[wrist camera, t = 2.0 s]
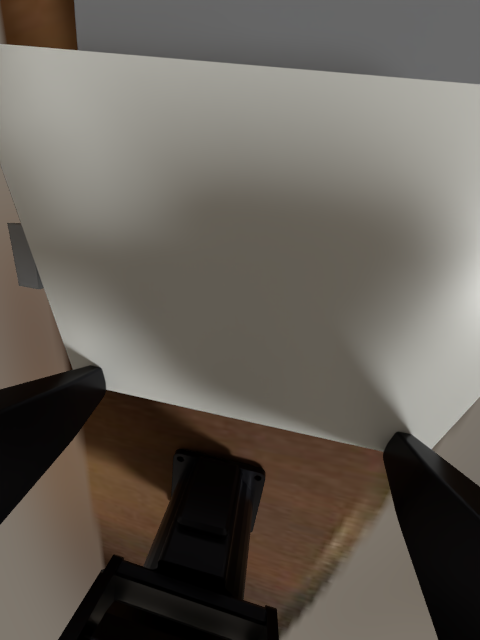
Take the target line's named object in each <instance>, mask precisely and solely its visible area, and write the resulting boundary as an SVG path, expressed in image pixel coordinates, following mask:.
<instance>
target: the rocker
mask: <svg viewBox="0 0 480 640" xmlns="http://www.w3.org/2000/svg"><path fill="white" fill-rule="evenodd" d="M0 165H1V168H2V171H3V174H4V176H5V179H6V182H7V185H8V188H9V191H10V193H11V196H12V199H13V202H14V205H15V208H16V210H17V213H18V216H19V219H20V222H21V225H22V227H23V230H24V233H25V236H26V239H27V242H28V244H29V247H30V250H31V253H32V256H33V258H34V261H35V264H36V267H37V270H38V273H39V275H40V278H41V281H42V284H43V287H44V290H45V292H46V295H47V298H48V301H49V304H50V306H51V309H52V312H53V315H54V318H55V321H56V323H57V326H58V329H59V332H60V335H61V338H62V340H63V343H64V346H65V349H66V352H67V354H68V357H69V360H70V363H71V366H72V369H73V370H74V369H78V368H82V367H85V366H89V365H92V366H97V367H100V368H102V370H103V374H104V378H105V382H106V390H110V391H115V392H119V393H124V394H128V395H133V396H137V397H141V398H146V399H150V400H155V401H159V402H164V403H168V404H173V405H177V406H182V407H186V408H191V409H195V410H200V411H204V412H209V413H213V414H218V415H222V416H226V417H231V418H235V419H240V420H244V421H249V422H253V423H258V424H262V425H267V426H271V427H276V428H280V429H285V430H289V431H294V432H298V433H303V434H307V435H311V436H316V437H320V438H325V439H329V440H334V441H338V442H343V443H347V444H352V445H356V446H361V447H365V448H370V449H374V450H379V451H383V452H384V449H385V447H386V445H387V443H388V442H389V441H390V439H391V438H392V437H393V435H394V434H395V433H396V432H398V431H399V432H404V433H409V434H412V435H413V436H414V437H416V438H417V439H418V440H420V441H421V442H422V443H424V444H425V445H426V446H427V447H429V448H430V449H432V448H433V447H434V446H435V445H436V444H437V443H438V441H439V440H440V439H441V438H442V437H443V436H444V435H445V434H446V433H447V432H448V431H449V429H450V428H451V427H452V426H453V425H454V424H455V423H456V422H457V421H458V420H459V419H460V418H461V416H462V415H463V414H464V413H465V412H466V411H467V410H468V409H469V408H470V407H471V406H472V405H473V403H474V402H475V401H476V400H477V399H478V398H479V397H480V84H469V83H457V82H445V81H433V80H421V79H410V78H398V77H386V76H374V75H362V74H351V73H339V72H327V71H315V70H303V69H291V68H280V67H268V66H256V65H244V64H232V63H221V62H209V61H197V60H185V59H173V58H161V57H150V56H138V55H126V54H114V53H102V52H91V51H79V50H67V49H55V48H43V47H31V46H20V45H8V44H0Z"/></svg>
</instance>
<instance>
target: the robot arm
mask: <svg viewBox="0 0 480 640" xmlns="http://www.w3.org/2000/svg"><path fill="white" fill-rule="evenodd" d="M105 392H106V382H105V378H104V374H103V370H102V368H100V367H97V366H92V365H89V366H85V367H82V368H78V369H74V370H70V371H67V372H63V373H59V374H56V375H52V376H49V377H45V378H41V379H38V380H34V381H30V382H26V383H23V384H19V385H15V386H12V387H8V388H4V389H1V390H0V524H1V523H2V522H3V521H4V520H5V518H6V517H7V516H8V515H9V514H10V513H11V511H12V510H13V509H14V508H15V507H16V505H17V504H18V503H19V502H20V501H21V500H22V499H23V497H24V496H25V495H26V494H27V493H28V491H29V490H30V489H31V488H32V487H33V486H34V485H35V483H36V482H37V481H38V480H39V479H40V478H41V476H42V475H43V474H44V473H45V471H47V469H48V468H49V467H50V466H51V465H52V463H53V462H54V461H55V460H56V459H57V458H58V456H59V455H60V454H61V453H62V451H64V449H65V448H66V447H67V446H68V445H69V443H70V442H71V441H72V440H73V439H74V437H75V436H76V435H77V433H78V432H79V431H80V429H81V428H82V426H83V425H84V424H85V422H86V421H87V419H88V418H89V417H90V415H91V414H92V412H93V411H94V409H95V408H96V407H97V405H98V404H99V402H100V401H101V400H102V398H103V397H104V395H105ZM383 460H384V465H385V469H386V473H387V477H388V481H389V486H390V490H391V494H392V498H393V502H394V507H395V511H396V514H397V518H398V521H399V524H400V527H401V531H402V533H403V537H404V539H405V542H406V545H407V548H408V551H409V554H410V557H411V560H412V563H413V566H414V569H415V572H416V575H417V578H418V581H419V584H420V587H421V590H422V593H423V595H424V598H425V601H426V605H427V607H428V610H429V613H430V616H431V619H432V622H433V625H434V628H435V631H436V634H437V637H438V640H480V487H479V486H478V485H477V484H475V483H474V482H473V481H472V480H470V479H469V478H468V477H466V476H465V475H464V474H463V473H461V472H460V471H458V470H457V469H456V468H455V467H453V466H452V465H451V464H450V463H448V462H447V461H446V460H444V459H443V458H442V457H440V456H439V455H438V454H437V453H435V452H434V451H433V450H431V449H430V448H429V447H427V446H426V445H425V444H424V443H422V442H421V441H420V440H418V439H417V438H416V437H414V436H413V435H412V434H409V433H404V432H399V431H398V432H396V433H395V434H394V435H393V437H392V438H391V439H390V441H389V442H388V443H387V445H386V447H385V449H384V453H383ZM264 482H265V471H264V470H263V469H262V468H259V467H255V466H251V465H246V464H242V463H238V462H234V461H230V460H226V459H221V458H217V457H213V456H209V455H205V454H201V453H197V452H192V451H188V450H184V449H178V450H177V451H176V453H175V455H174V458H173V476H172V495H171V500H170V502H169V505H168V507H167V510H166V512H165V514H164V517H163V519H162V522H161V524H160V527H159V529H158V532H157V534H156V537H155V539H154V541H153V544H152V546H151V549H150V551H149V554H148V556H147V559H146V561H145V563H144V566H140V565H137V564H134V563H131V562H128V561H125V560H124V557H121V556H118V555H115V554H114V555H113V556H112V558H111V560H110V561H109V563H108V564H107V566H106V568H105V569H103V570H101V572H100V573H99V575H98V576H97V578H96V580H95V582H94V583H93V585H92V586H91V588H90V589H89V591H88V593H87V594H86V596H85V598H84V599H83V601H82V602H81V604H80V605H79V607H78V609H77V610H76V612H75V613H74V615H73V617H72V619H71V620H70V621H69V623H68V625H67V627H66V628H65V630H64V631H63V633H62V635H61V636H60V638H59V639H58V640H279V635H278V619H277V609H276V608H273V607H270V606H267V605H265V607H262V606H259V605H256V604H253V603H250V602H247V601H244V600H243V599H244V589H245V579H246V569H247V559H248V550H249V540H250V533H251V532H252V531H253V527H254V523H255V519H256V515H257V511H258V507H259V503H260V499H261V495H262V491H263V486H264Z"/></svg>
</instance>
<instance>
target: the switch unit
mask: <svg viewBox="0 0 480 640" xmlns="http://www.w3.org/2000/svg"><path fill="white" fill-rule="evenodd" d="M74 6H75V19H76V33H77V46H78V50H79V51H91V52H102V53H114V54H126V55H138V56H150V57H161V58H173V59H185V60H197V61H209V62H221V63H232V64H244V65H256V66H268V67H280V68H291V69H303V70H315V71H327V72H339V73H351V74H362V75H374V76H386V77H398V78H410V79H421V80H433V81H445V82H457V83H469V84H480V0H74ZM8 229H9V234H10V239H11V245H12V250H13V256H14V261H15V266H16V272H17V277H18V282H19V286H24V287H30V288H35V289H42V288H44V287H43V284H42V281H41V278H40V275H39V273H38V270H37V267H36V264H35V261H34V258H33V256H32V253H31V250H30V247H29V244H28V242H27V239H26V236H25V233H24V230H23V227H22V225H21V223H8Z"/></svg>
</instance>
